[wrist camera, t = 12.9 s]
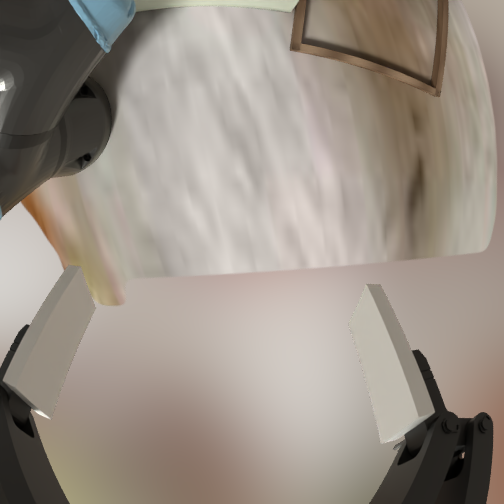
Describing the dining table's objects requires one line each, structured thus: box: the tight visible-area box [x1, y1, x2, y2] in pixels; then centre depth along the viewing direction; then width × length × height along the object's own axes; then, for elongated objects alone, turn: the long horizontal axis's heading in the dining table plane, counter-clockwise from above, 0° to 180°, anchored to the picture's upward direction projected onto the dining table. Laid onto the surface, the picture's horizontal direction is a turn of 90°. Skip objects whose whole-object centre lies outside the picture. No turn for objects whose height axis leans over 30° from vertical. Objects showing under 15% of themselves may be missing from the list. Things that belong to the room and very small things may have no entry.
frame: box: [290, 0, 448, 97], centre depth 21 cm, size 22×20×2 cm
